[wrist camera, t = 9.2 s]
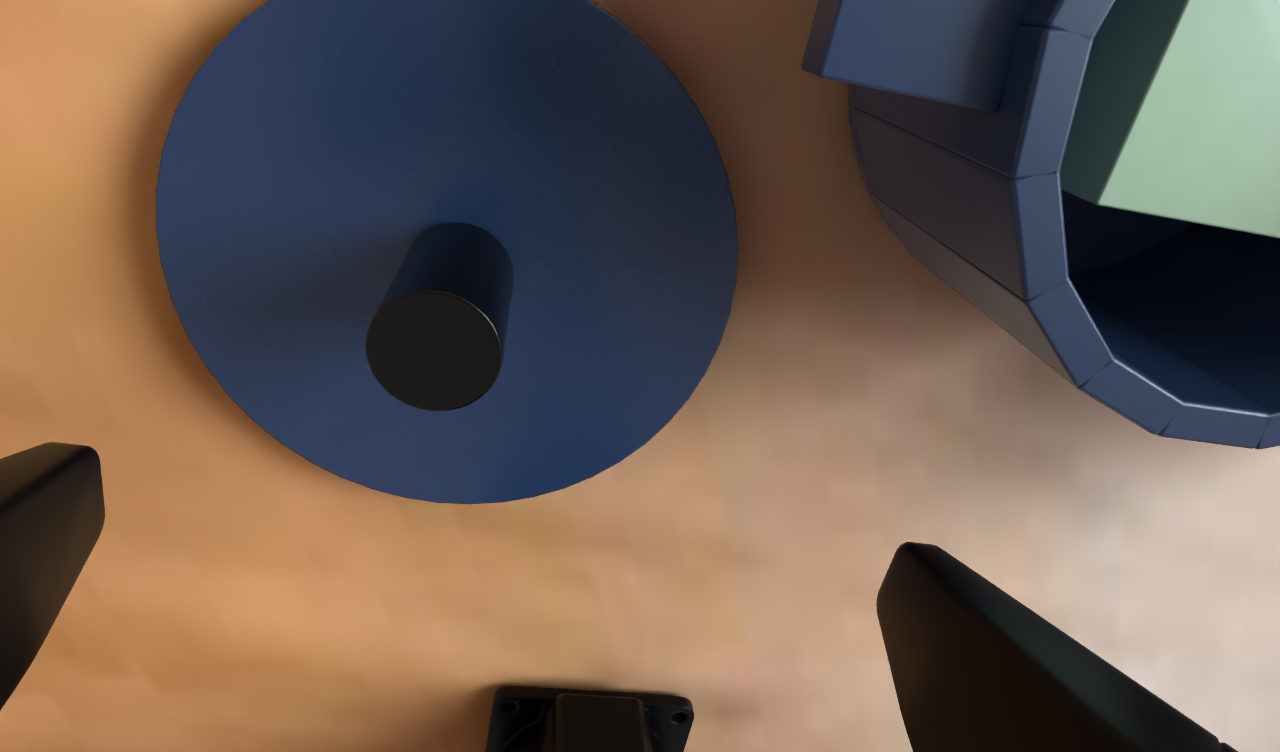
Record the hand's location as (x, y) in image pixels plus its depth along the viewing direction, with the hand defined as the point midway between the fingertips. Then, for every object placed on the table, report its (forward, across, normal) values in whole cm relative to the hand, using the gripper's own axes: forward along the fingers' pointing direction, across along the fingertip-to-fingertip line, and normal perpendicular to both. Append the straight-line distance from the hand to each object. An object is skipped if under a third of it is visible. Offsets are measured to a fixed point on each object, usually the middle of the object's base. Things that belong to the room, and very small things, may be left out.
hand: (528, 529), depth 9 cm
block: (+11, -12, -6) cm, 17 cm away
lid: (+10, +2, +1) cm, 11 cm away
